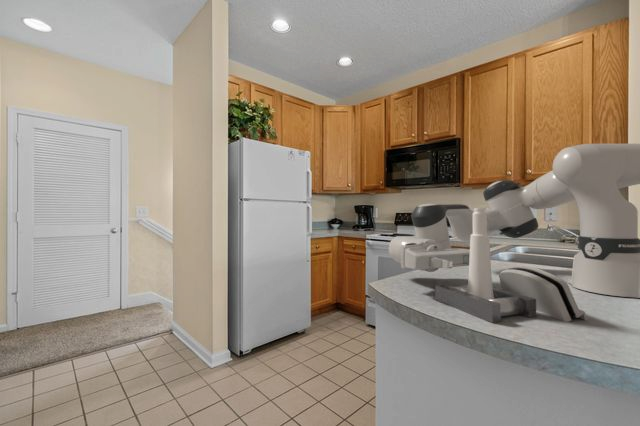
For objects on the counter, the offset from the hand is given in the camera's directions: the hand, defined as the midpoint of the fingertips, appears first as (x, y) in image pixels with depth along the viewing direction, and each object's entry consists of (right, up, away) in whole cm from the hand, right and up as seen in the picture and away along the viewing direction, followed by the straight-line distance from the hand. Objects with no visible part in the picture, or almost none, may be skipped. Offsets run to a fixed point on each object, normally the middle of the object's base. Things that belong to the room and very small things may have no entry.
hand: (466, 263), depth 69 cm
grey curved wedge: (+13, -9, -4) cm, 17 cm away
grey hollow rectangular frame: (+2, -9, -3) cm, 10 cm away
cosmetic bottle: (+1, -9, -3) cm, 10 cm away
